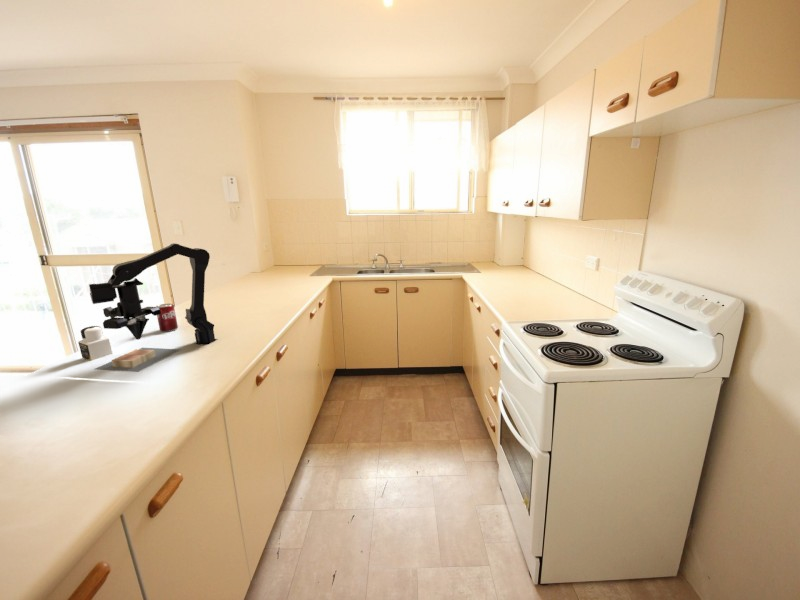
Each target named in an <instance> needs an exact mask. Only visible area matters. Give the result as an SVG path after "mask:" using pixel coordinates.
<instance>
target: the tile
mask: <svg viewBox="0 0 800 600" xmlns="http://www.w3.org/2000/svg"><path fill="white" fill-rule="evenodd" d="M139 349H140V348H138V349H134V350H131V351H129V352H127V353H124V354H123V355H120V356H118V357H116V358H114V359H111V361H112V364H113V367H129V368H133V367H135V366H137V365H139V364H141V363H143V362H145V361H147V360H149V359H151V358H153V357H155V356H156V355H155V351H154V350H139Z"/></svg>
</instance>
